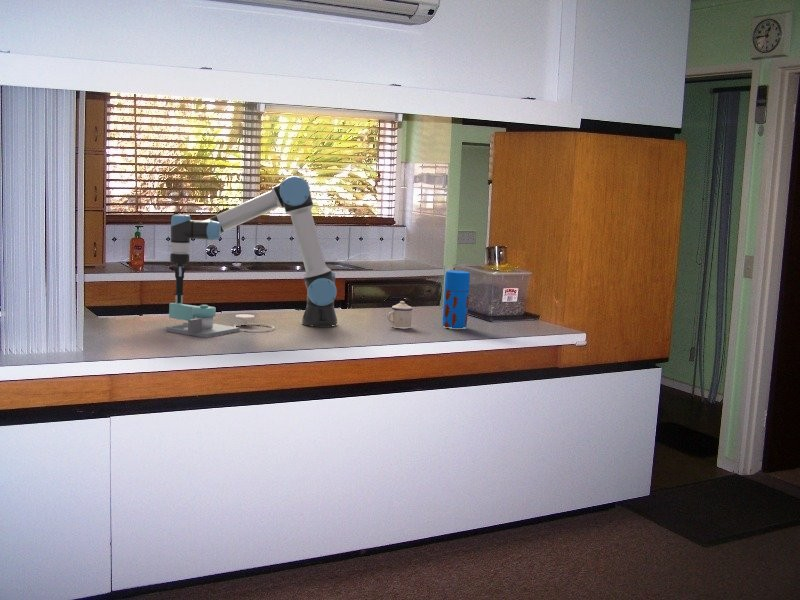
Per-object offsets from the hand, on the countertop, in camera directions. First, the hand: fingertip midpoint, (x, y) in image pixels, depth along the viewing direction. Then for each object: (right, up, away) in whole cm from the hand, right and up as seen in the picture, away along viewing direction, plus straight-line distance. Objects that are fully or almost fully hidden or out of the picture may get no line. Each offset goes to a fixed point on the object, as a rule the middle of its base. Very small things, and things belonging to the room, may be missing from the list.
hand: (178, 310), depth 350 cm
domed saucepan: (+7, -4, -8) cm, 11 cm away
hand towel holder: (+29, -8, +3) cm, 30 cm away
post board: (+12, -8, -12) cm, 18 cm away
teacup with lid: (+89, -8, +23) cm, 93 cm away
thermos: (+114, -8, +32) cm, 119 cm away
